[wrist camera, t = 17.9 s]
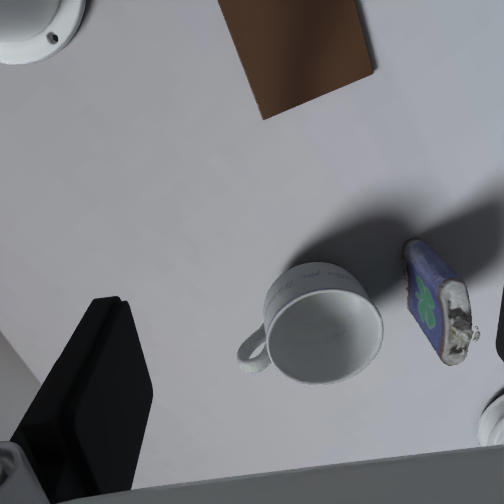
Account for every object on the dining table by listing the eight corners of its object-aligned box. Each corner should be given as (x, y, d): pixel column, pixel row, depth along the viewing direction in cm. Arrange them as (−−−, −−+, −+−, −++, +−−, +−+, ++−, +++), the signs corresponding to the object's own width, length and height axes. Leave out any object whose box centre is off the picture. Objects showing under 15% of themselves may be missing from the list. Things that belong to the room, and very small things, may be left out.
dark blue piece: (400, 240, 43) (449, 294, 33) (429, 234, 43) (487, 287, 33) (406, 315, 47) (451, 383, 37) (433, 310, 47) (485, 377, 37)
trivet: (262, 119, 38) (263, 120, 37) (216, -3, 34) (216, -4, 33) (371, 73, 36) (374, 73, 36) (337, -59, 32) (338, -61, 32)
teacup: (352, 238, 43) (376, 276, 36) (368, 325, 47) (392, 374, 40) (219, 273, 44) (215, 315, 37) (247, 354, 48) (249, 407, 41)
